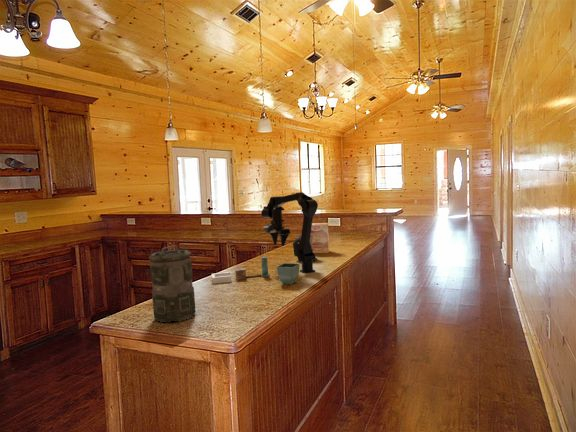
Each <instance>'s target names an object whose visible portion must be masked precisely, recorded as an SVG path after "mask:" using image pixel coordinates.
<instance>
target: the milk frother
mask: <svg viewBox="0 0 576 432" xmlns="http://www.w3.org/2000/svg"><path fill="white" fill-rule="evenodd" d="M297 236H298V237H297V238H295V239H294V240H293V242H292V247H293V249H292V250H293V256H294V257H297V255H296V251H295V249H296V244H297V243H300V241H301V234H298V235H297ZM310 244H311V249H312V252H313V244H312V235H310ZM317 260H318V258H317V257H315V259H313V260H312V262H315V261H317Z"/></svg>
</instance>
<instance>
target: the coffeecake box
mask: <svg viewBox="0 0 576 432" xmlns="http://www.w3.org/2000/svg"><path fill="white" fill-rule="evenodd" d="M311 235H312V244H313V253H314V254H329V252H330V239H329V238H330V237H329V236H330V235H329V222H316V223H314V222H312V228H311Z"/></svg>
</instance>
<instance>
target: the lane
mask: <svg viewBox="0 0 576 432" xmlns="http://www.w3.org/2000/svg"><path fill="white" fill-rule="evenodd" d="M211 280H212V281H211V282H212V284H223V283H224V284H225V283H231V282H232V275H231V271H226V272H225V271H224V272H217V273H215V272H214V273H211Z"/></svg>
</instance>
